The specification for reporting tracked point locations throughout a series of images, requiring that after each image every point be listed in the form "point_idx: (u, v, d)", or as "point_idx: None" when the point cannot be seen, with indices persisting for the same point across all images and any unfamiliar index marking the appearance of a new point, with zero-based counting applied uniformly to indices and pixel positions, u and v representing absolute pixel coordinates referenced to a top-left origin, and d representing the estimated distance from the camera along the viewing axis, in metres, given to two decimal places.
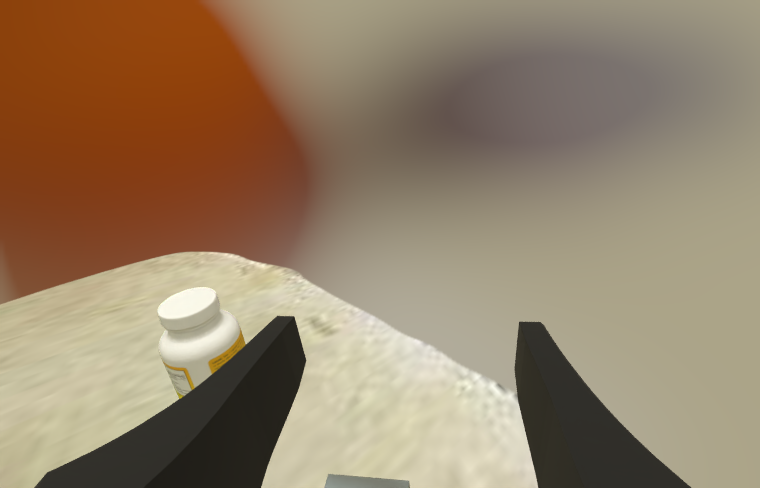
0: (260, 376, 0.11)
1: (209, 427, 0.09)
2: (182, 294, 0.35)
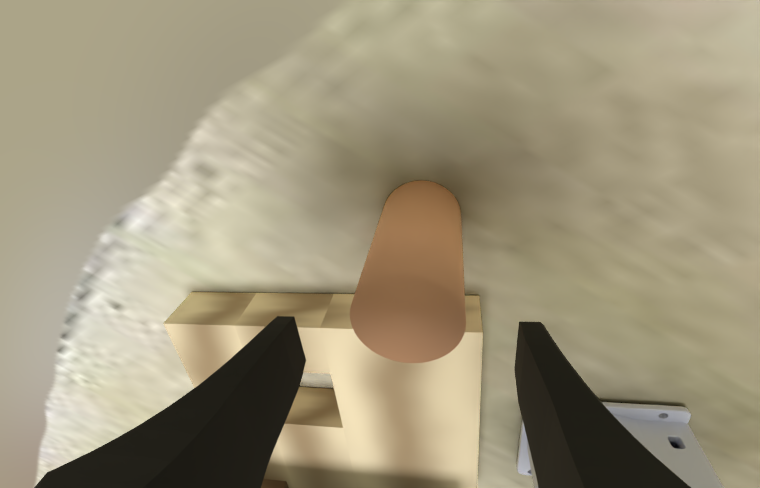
0: (260, 376, 0.11)
1: (209, 427, 0.09)
2: None
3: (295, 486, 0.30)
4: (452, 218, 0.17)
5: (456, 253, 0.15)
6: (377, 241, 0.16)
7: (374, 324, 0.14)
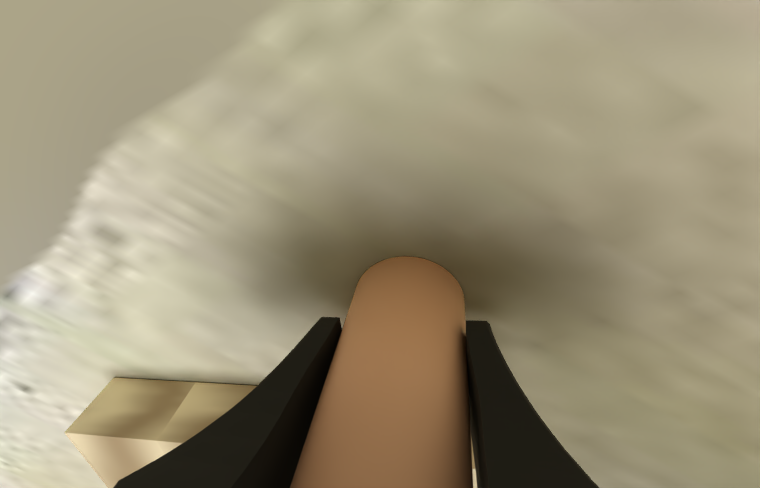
0: (313, 379, 0.11)
1: (274, 432, 0.09)
2: None
3: None
4: (452, 329, 0.11)
5: (459, 409, 0.09)
6: (332, 383, 0.10)
7: None
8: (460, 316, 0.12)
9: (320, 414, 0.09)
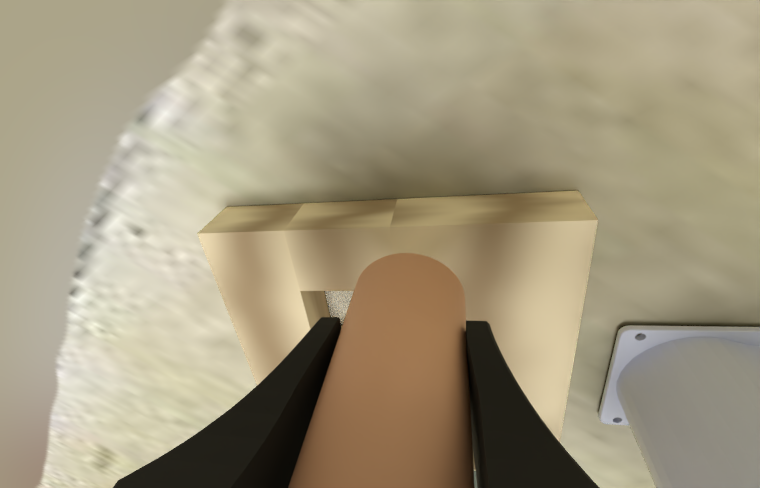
0: (313, 379, 0.11)
1: (273, 432, 0.09)
2: None
3: None
4: (454, 327, 0.11)
5: (461, 407, 0.09)
6: (334, 378, 0.10)
7: None
8: (461, 314, 0.12)
9: (322, 408, 0.09)
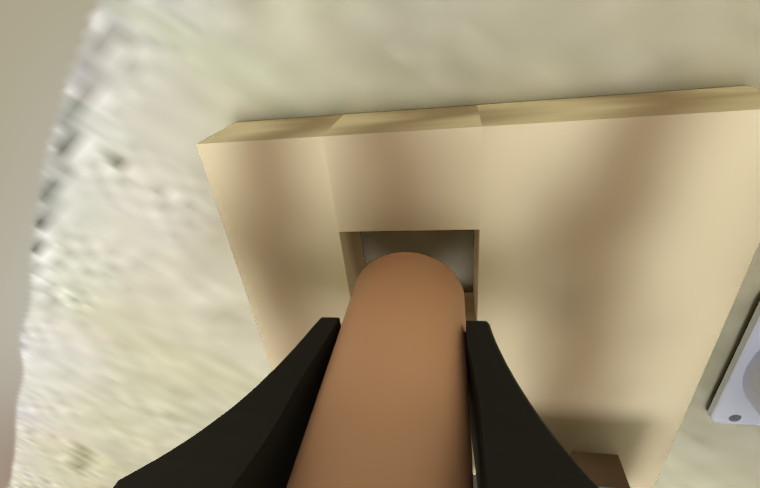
0: (313, 379, 0.11)
1: (274, 432, 0.09)
2: None
3: None
4: (454, 326, 0.11)
5: (461, 407, 0.09)
6: (334, 375, 0.10)
7: None
8: (461, 314, 0.12)
9: (321, 406, 0.09)
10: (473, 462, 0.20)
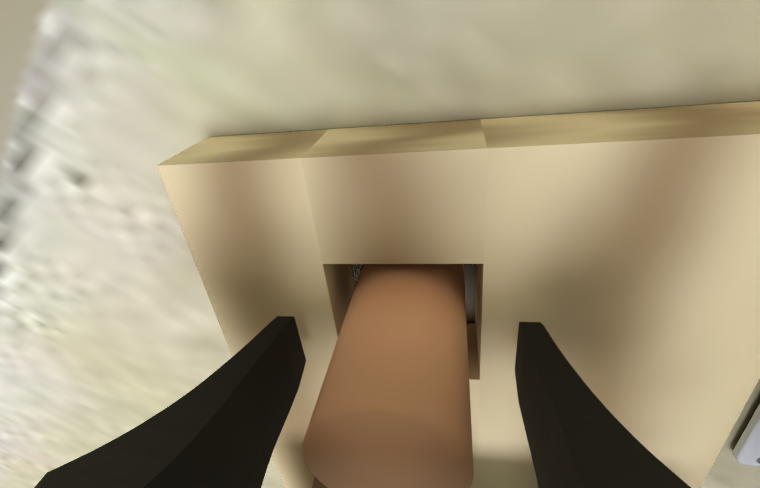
0: (260, 376, 0.11)
1: (209, 427, 0.09)
2: None
3: None
4: (454, 289, 0.13)
5: (461, 351, 0.11)
6: (351, 326, 0.11)
7: (338, 464, 0.10)
8: (461, 281, 0.14)
9: (341, 349, 0.11)
10: None
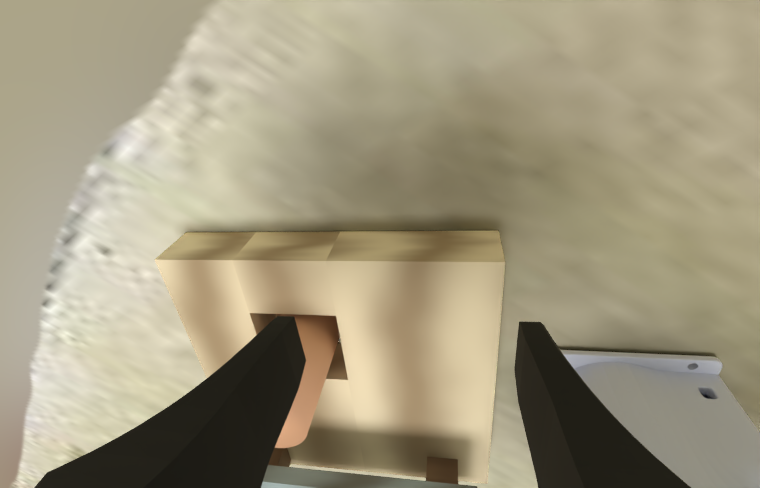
0: (260, 376, 0.11)
1: (209, 427, 0.09)
2: None
3: (295, 449, 0.29)
4: (326, 327, 0.22)
5: (316, 364, 0.20)
6: None
7: None
8: (335, 321, 0.23)
9: None
10: (363, 463, 0.28)
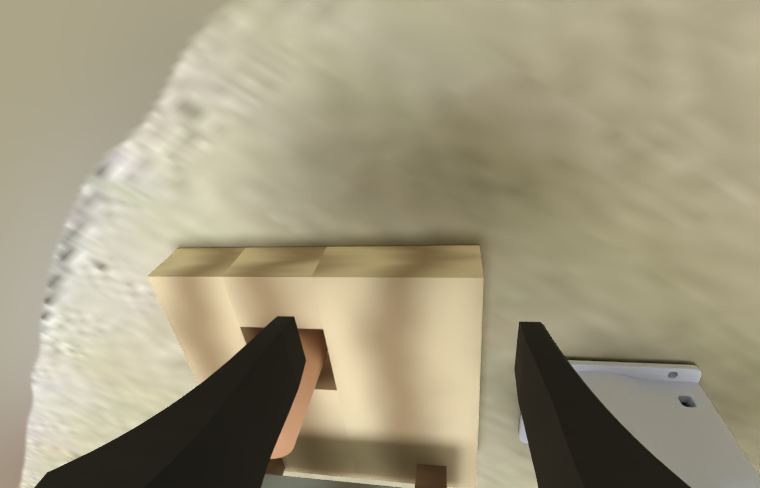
0: (260, 376, 0.11)
1: (209, 427, 0.09)
2: None
3: (288, 457, 0.29)
4: (314, 340, 0.23)
5: (303, 377, 0.21)
6: None
7: None
8: None
9: None
10: (355, 471, 0.29)
